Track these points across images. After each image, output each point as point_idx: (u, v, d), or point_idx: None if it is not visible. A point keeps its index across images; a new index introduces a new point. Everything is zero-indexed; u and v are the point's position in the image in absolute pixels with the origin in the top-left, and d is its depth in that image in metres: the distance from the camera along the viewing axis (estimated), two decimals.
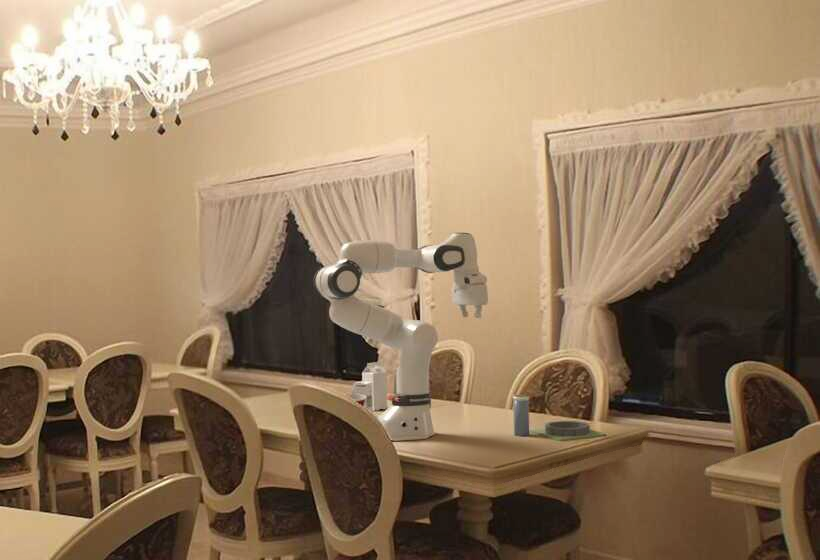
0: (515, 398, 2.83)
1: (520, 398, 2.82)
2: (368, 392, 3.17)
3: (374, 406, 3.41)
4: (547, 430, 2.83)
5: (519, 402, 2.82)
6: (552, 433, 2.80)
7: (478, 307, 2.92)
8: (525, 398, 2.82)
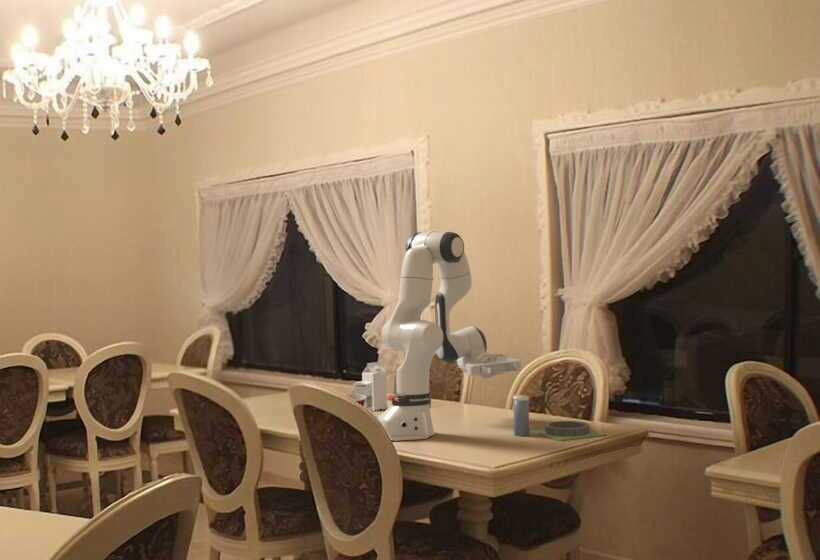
0: (515, 398, 2.83)
1: (520, 398, 2.82)
2: (368, 392, 3.17)
3: (374, 406, 3.41)
4: (547, 430, 2.83)
5: (519, 402, 2.82)
6: (552, 433, 2.80)
7: None
8: (525, 398, 2.82)
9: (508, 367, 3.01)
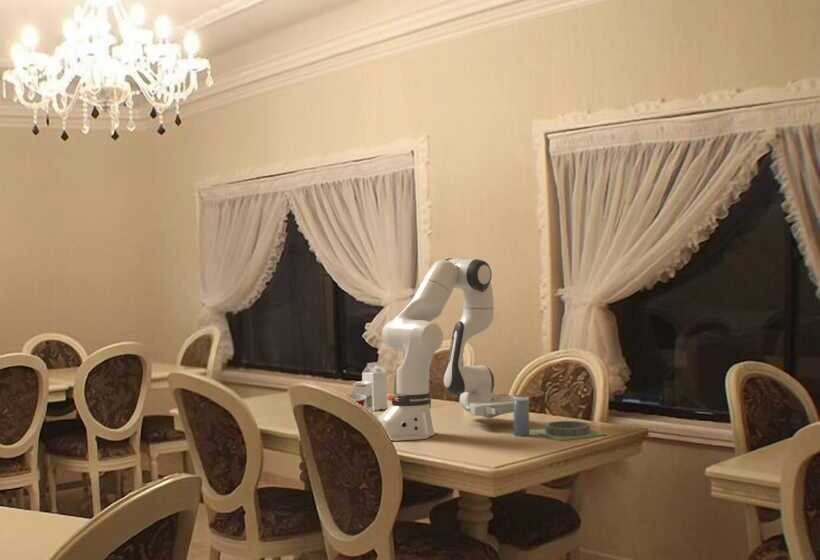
0: (515, 398, 2.83)
1: (520, 398, 2.82)
2: (368, 392, 3.17)
3: (374, 406, 3.41)
4: (547, 430, 2.83)
5: (519, 402, 2.82)
6: (552, 433, 2.80)
7: None
8: (525, 398, 2.82)
9: (512, 408, 2.99)
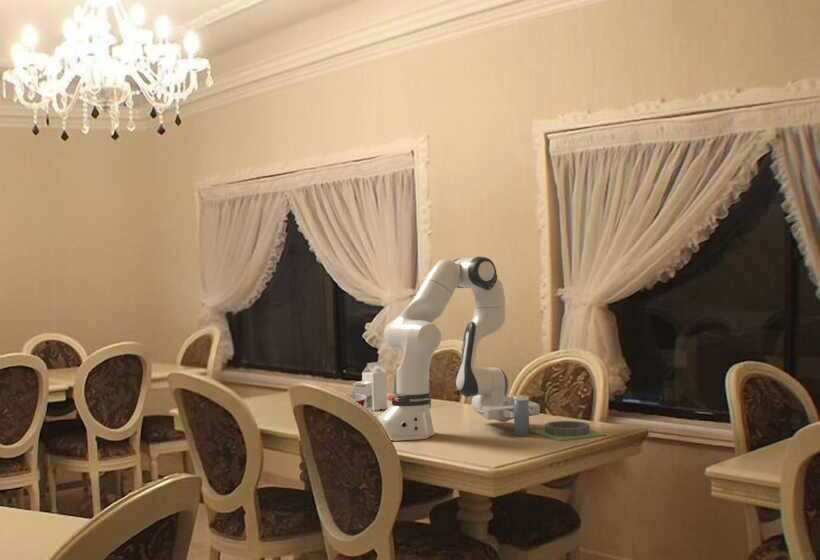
0: (515, 398, 2.83)
1: (520, 398, 2.82)
2: (368, 392, 3.17)
3: (374, 406, 3.41)
4: (547, 430, 2.83)
5: (519, 402, 2.82)
6: (552, 433, 2.80)
7: None
8: (525, 398, 2.82)
9: None
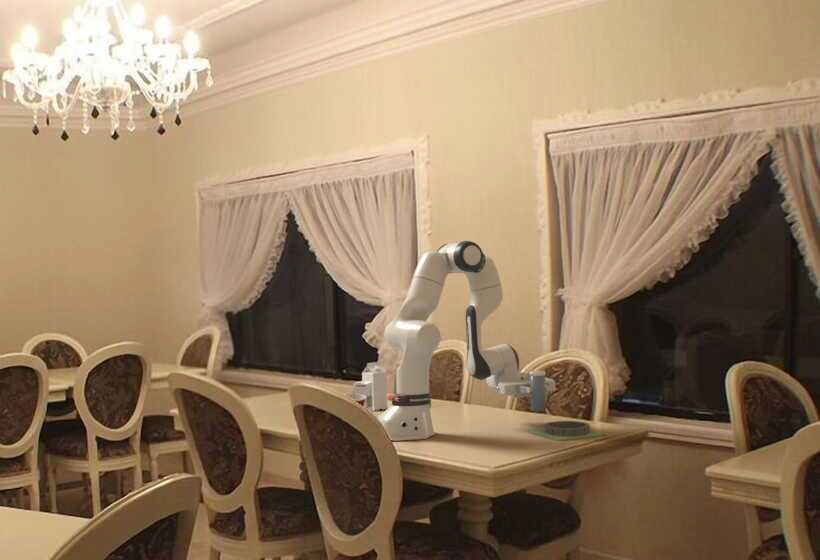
0: (531, 373, 2.83)
1: (536, 373, 2.82)
2: (368, 392, 3.17)
3: (374, 406, 3.41)
4: (547, 430, 2.83)
5: (535, 377, 2.82)
6: (552, 433, 2.80)
7: None
8: (541, 373, 2.82)
9: None
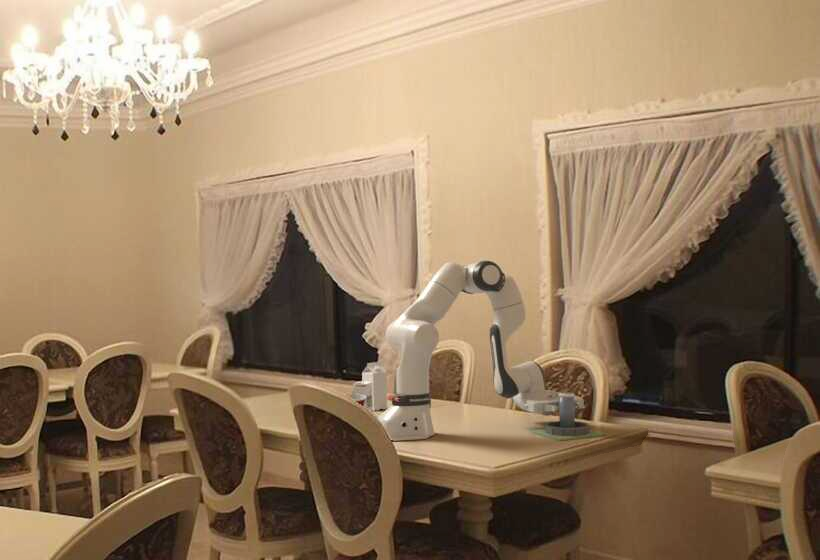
0: (561, 395, 2.84)
1: (566, 395, 2.83)
2: (368, 392, 3.17)
3: (374, 406, 3.41)
4: (547, 430, 2.83)
5: (565, 399, 2.83)
6: (552, 433, 2.80)
7: None
8: (571, 395, 2.83)
9: None
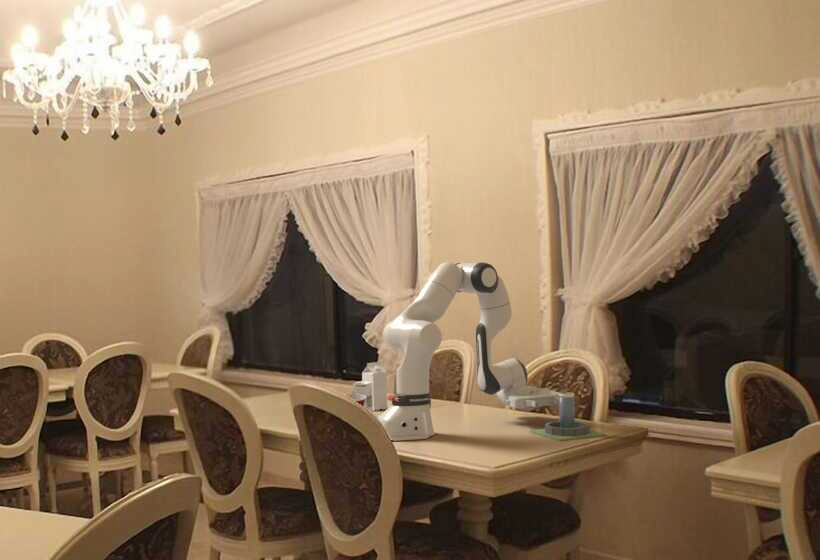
0: (561, 395, 2.83)
1: (566, 395, 2.82)
2: (368, 392, 3.17)
3: (374, 406, 3.41)
4: (547, 430, 2.83)
5: (565, 399, 2.82)
6: (552, 433, 2.80)
7: None
8: (571, 395, 2.83)
9: (551, 400, 3.01)
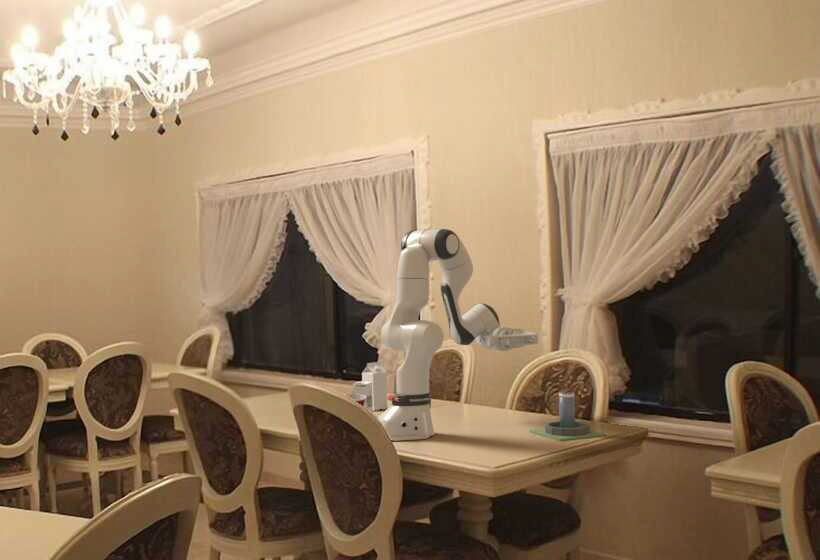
0: (561, 395, 2.83)
1: (566, 395, 2.82)
2: (368, 392, 3.17)
3: (374, 406, 3.41)
4: (547, 430, 2.83)
5: (565, 399, 2.82)
6: (552, 433, 2.80)
7: None
8: (571, 395, 2.83)
9: (526, 340, 3.07)
